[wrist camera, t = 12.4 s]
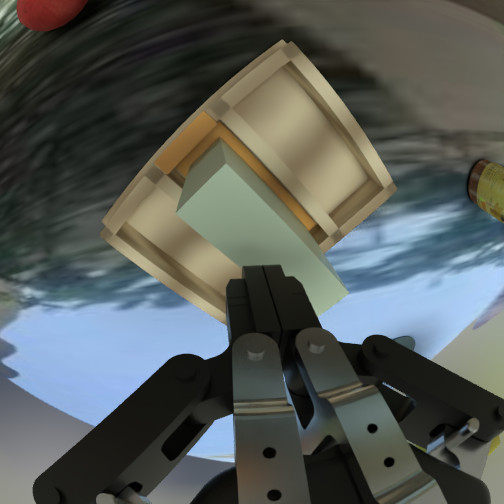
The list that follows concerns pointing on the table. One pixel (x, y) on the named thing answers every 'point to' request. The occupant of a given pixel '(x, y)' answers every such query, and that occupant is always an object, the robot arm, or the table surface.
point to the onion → (48, 13)
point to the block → (254, 223)
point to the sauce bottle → (488, 188)
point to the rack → (262, 162)
